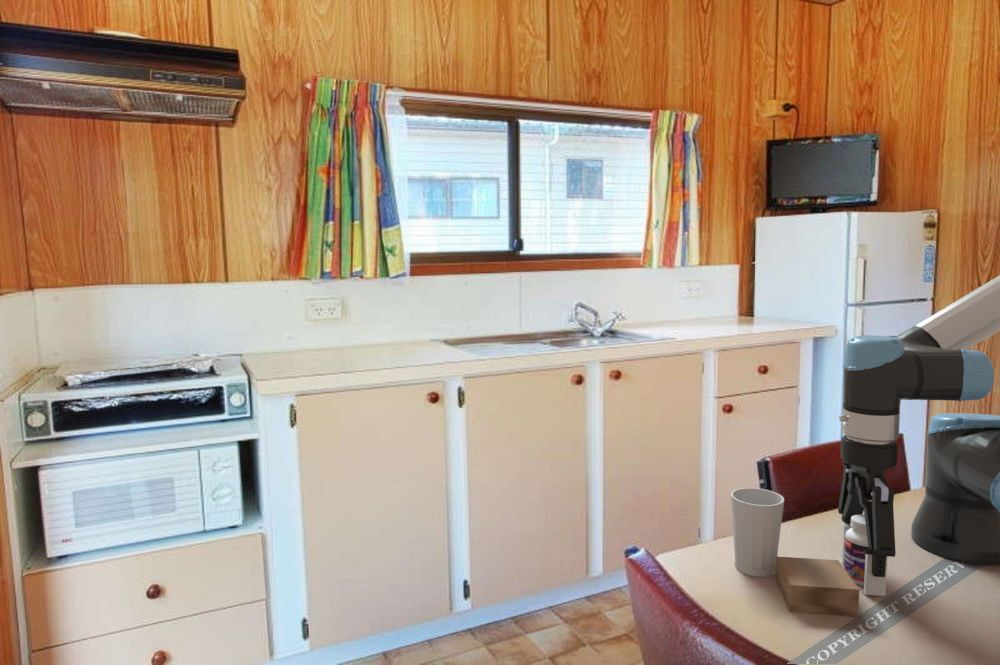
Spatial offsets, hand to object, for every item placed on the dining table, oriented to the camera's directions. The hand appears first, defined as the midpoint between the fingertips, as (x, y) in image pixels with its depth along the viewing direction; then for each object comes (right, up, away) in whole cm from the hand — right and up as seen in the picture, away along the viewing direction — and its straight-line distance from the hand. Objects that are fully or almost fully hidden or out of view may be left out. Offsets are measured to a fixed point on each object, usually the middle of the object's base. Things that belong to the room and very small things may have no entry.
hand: (862, 577), depth 102 cm
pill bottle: (0, 0, 0) cm, 0 cm away
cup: (-15, 0, +4) cm, 16 cm away
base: (-10, -1, -5) cm, 11 cm away
